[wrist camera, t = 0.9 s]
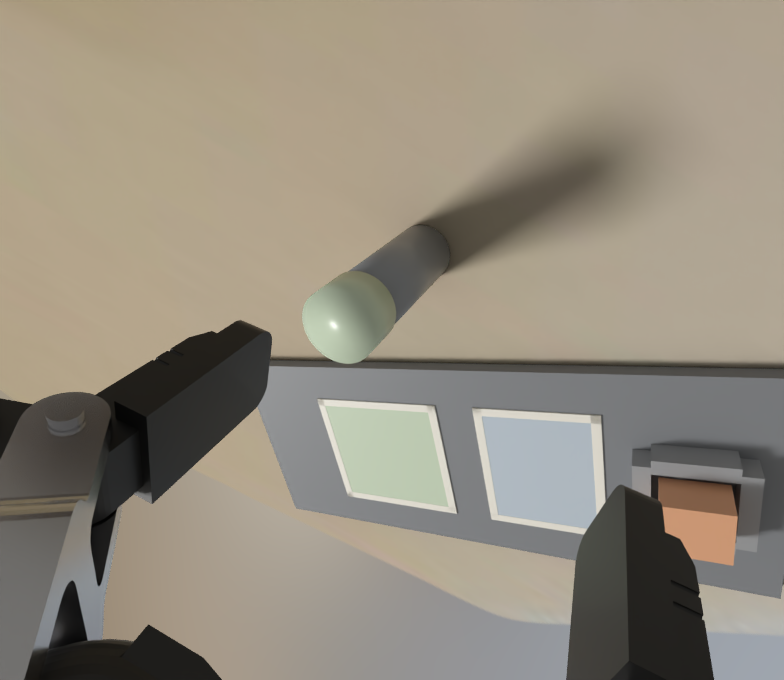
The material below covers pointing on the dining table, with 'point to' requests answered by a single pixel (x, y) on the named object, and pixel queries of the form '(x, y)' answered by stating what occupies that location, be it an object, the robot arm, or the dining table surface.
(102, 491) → the robot arm
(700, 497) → the button
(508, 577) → the dining table surface
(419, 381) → the picture board
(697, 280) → the dining table surface
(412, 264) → the marker
